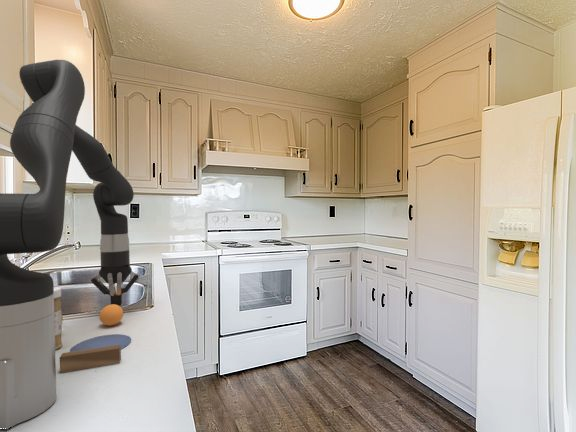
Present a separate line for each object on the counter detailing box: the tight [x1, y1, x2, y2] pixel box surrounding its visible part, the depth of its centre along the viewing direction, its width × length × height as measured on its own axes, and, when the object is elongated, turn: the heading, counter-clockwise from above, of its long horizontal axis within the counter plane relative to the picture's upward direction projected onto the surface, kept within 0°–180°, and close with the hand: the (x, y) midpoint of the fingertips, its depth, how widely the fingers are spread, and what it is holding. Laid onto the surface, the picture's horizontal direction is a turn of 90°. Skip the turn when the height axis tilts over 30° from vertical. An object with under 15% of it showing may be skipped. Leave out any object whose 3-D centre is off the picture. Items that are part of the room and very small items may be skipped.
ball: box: [99, 303, 124, 327], centre depth 84 cm, size 6×6×6 cm
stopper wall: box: [59, 344, 122, 374], centre depth 62 cm, size 2×10×3 cm, turn 111°
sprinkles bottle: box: [53, 286, 63, 351], centre depth 70 cm, size 5×5×14 cm
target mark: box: [69, 333, 132, 352], centre depth 71 cm, size 12×12×1 cm
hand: (116, 307), depth 93 cm, fingers closed
